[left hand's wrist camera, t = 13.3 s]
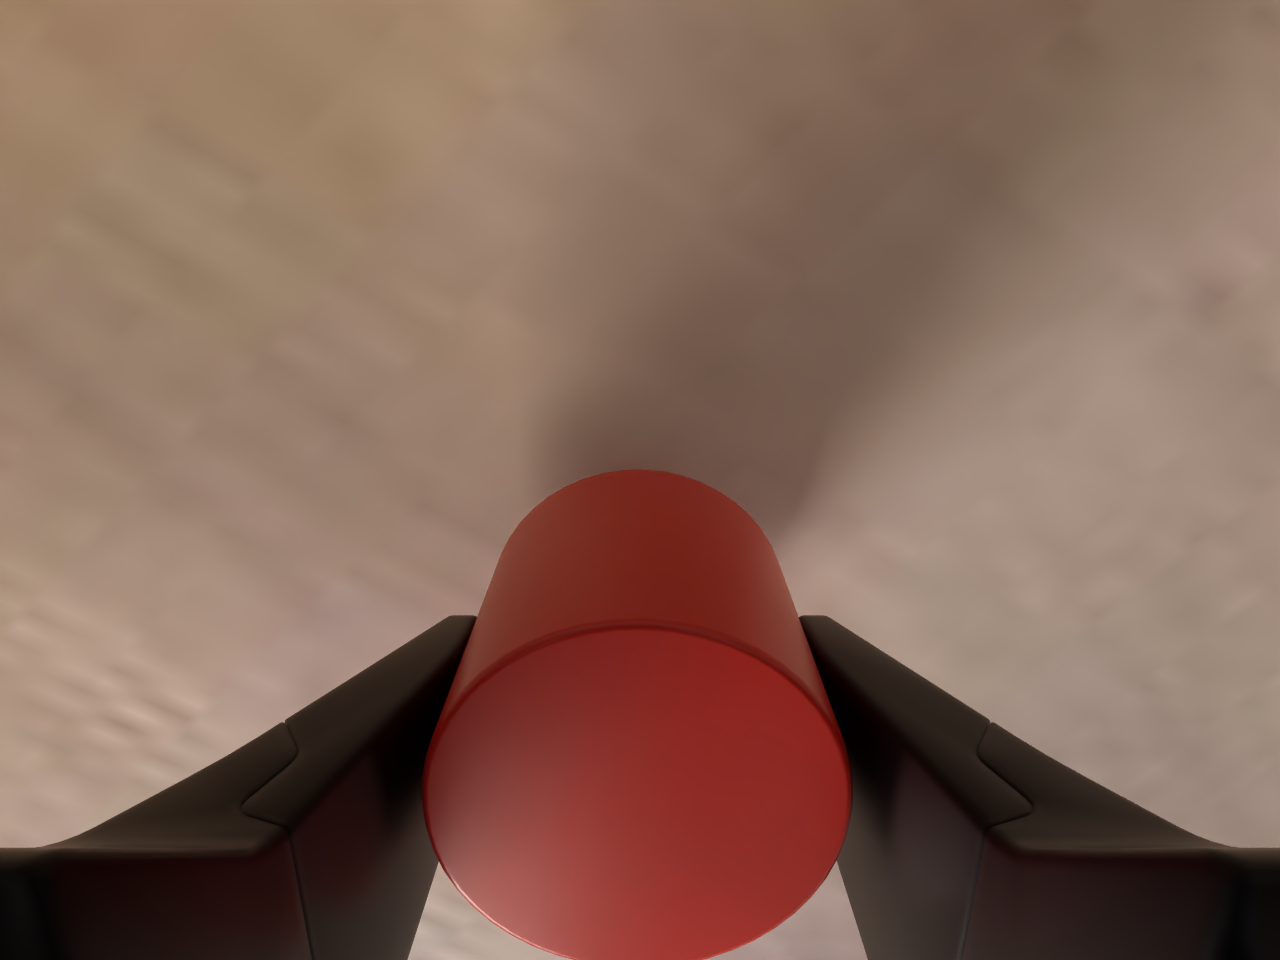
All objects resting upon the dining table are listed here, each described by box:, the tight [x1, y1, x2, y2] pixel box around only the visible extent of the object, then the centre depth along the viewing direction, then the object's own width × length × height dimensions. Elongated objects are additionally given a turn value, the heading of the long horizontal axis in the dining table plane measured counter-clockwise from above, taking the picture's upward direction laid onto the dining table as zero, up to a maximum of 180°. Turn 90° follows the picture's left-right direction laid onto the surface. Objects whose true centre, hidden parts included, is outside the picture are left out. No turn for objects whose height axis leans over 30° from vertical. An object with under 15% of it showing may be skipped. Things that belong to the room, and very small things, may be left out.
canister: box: [422, 470, 853, 960], centre depth 10 cm, size 4×4×4 cm
